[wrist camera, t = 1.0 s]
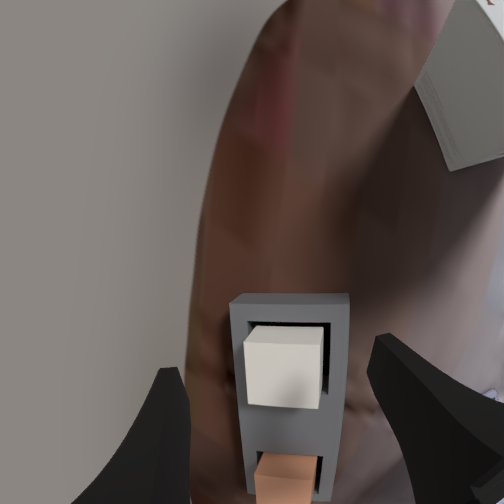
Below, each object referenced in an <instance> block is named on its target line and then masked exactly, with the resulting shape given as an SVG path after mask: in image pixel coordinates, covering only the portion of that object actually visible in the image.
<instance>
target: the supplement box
mask: <svg viewBox="0 0 504 504" xmlns="http://www.w3.org/2000/svg"><path fill="white" fill-rule="evenodd" d="M414 87H415V89H416V91H417V93H418V95H419V97H420V100H421V102H422V104H423V106H424V108H425V110H426V113H427V115H428V118H429V120H430V122H431V125H432V127H433V130H434V132H435V135H436V137H437V140H438V142H439V145H440V148H441V150H442V153H443V156H444V159H445V161H446V164H447V167H448V169H449V171H450V172H452V171H455V170H458V169H462V168H465V167H469V166H472V165H476V164H479V163H483V162H487V161H490V160H494V159H497V158H501V157H504V0H455V2H454V5H453V7H452V9H451V11H450V13H449V15H448V18H447V20H446V22H445V24H444V26H443V28H442V30H441V32H440V34H439V36H438V38H437V40H436V42H435V44H434V46H433V48H432V50H431V52H430V54H429V56H428V58H427V60H426V62H425V64H424V66H423V68H422V70H421V72H420V74H419V75H418V77H417V79H416V81H415V83H414Z"/></svg>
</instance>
